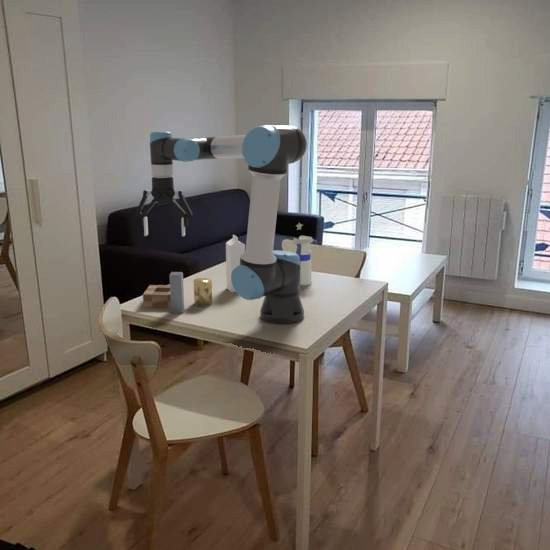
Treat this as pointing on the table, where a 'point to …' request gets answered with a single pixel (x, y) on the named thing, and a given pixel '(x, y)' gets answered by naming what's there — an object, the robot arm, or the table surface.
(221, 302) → the table surface
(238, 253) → the milk
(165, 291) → the socket block
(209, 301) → the round bit
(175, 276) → the square bit
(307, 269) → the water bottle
